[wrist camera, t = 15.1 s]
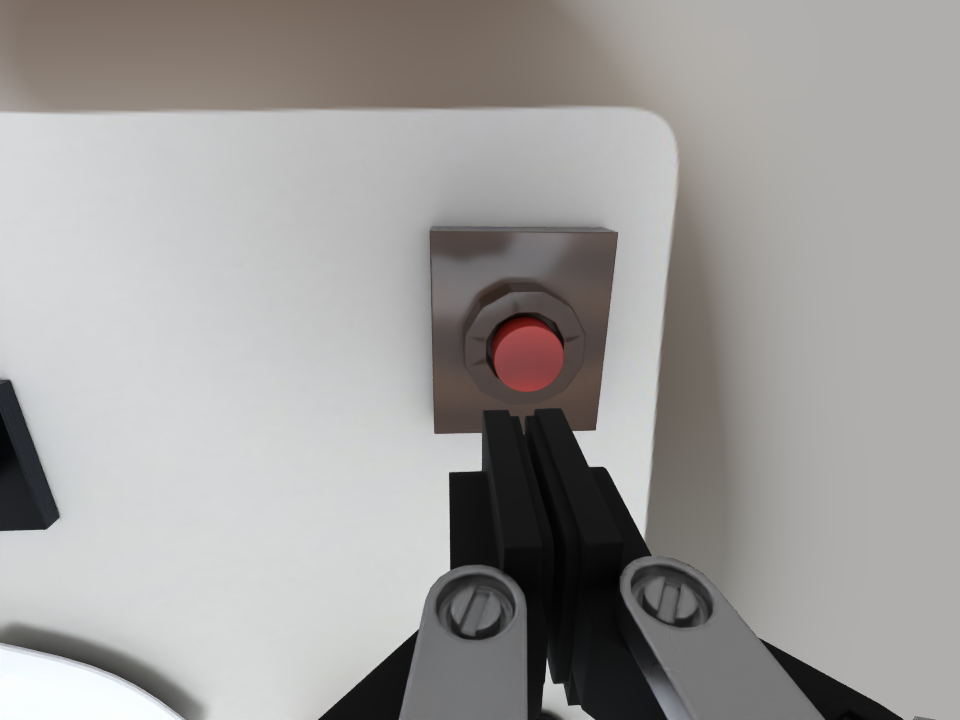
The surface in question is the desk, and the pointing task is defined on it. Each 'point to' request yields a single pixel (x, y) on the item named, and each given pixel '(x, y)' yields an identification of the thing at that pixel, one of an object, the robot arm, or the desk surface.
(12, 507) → the bracket
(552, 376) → the button
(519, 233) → the control block
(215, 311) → the desk surface
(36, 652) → the plate
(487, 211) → the desk surface
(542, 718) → the beverage can
